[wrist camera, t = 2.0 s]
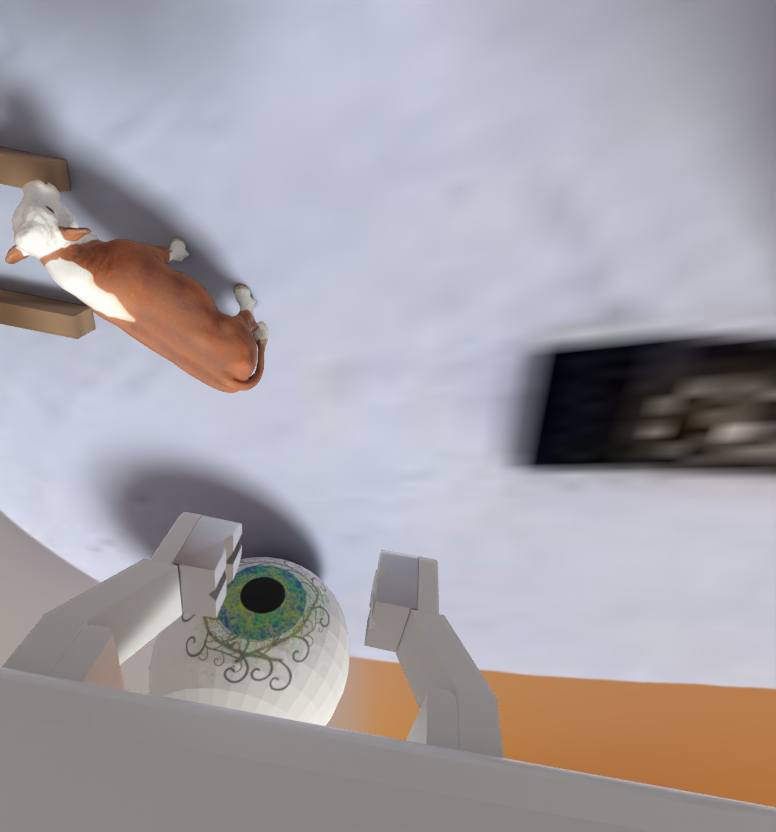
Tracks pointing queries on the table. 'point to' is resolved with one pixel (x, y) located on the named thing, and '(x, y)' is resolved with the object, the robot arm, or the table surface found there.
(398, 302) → the table surface
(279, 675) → the decorative object
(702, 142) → the table surface
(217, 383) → the bull figurine
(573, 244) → the table surface
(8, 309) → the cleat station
